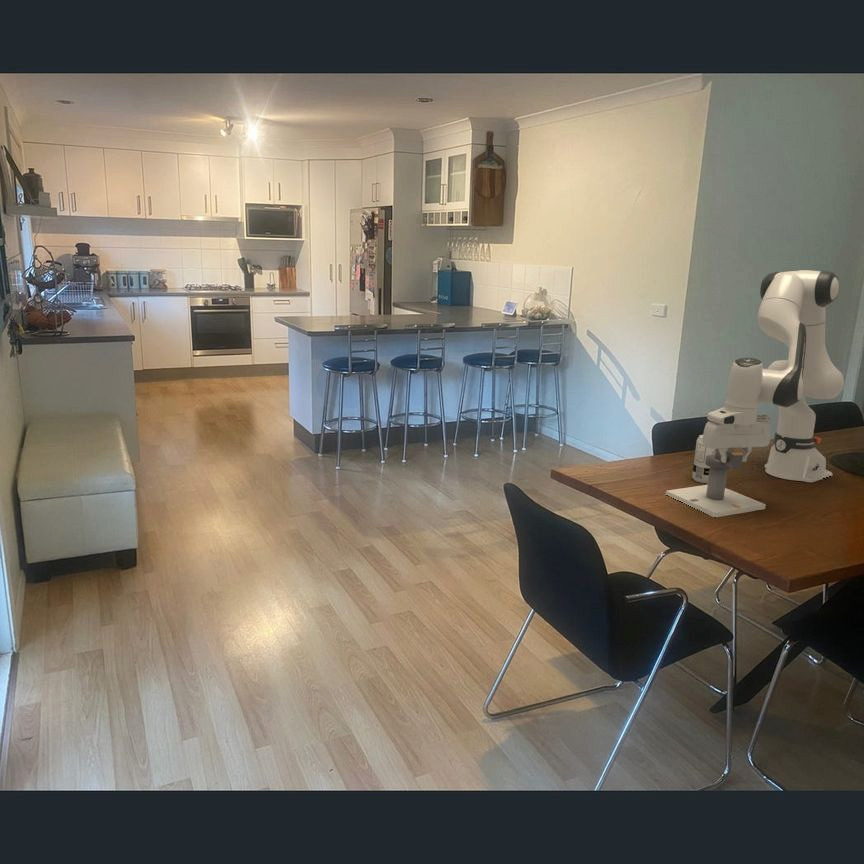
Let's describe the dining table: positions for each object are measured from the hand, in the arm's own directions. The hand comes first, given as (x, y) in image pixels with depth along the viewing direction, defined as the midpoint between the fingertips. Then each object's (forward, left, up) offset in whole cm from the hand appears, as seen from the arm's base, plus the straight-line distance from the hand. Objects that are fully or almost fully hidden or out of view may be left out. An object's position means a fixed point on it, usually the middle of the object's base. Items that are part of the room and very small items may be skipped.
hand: (733, 461), depth 203 cm
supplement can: (-15, -24, -15) cm, 31 cm away
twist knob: (0, -3, -3) cm, 5 cm away
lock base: (-2, -7, -15) cm, 16 cm away
